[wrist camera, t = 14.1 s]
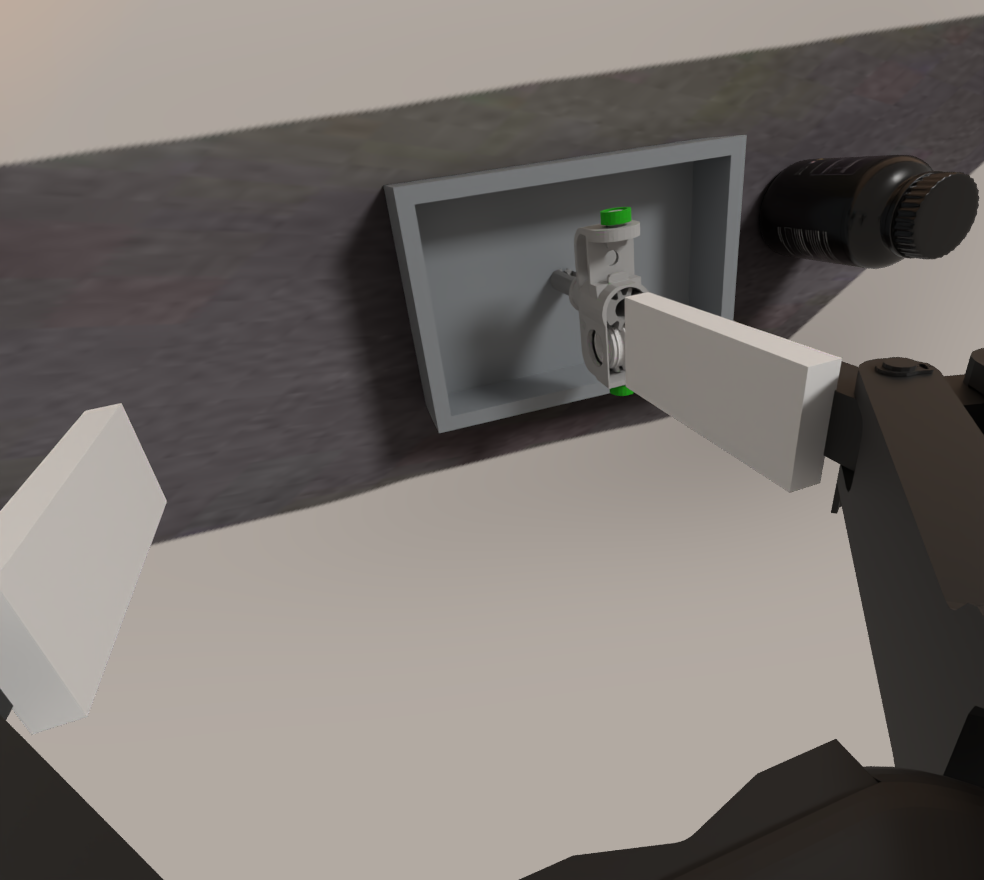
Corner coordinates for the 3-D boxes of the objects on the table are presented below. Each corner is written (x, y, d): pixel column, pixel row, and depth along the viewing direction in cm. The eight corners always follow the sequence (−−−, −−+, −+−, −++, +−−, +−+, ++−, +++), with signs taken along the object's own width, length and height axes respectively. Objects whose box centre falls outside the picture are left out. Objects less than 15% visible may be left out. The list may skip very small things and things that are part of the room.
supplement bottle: (828, 242, 46) (981, 264, 35) (754, 264, 45) (889, 292, 34) (836, 148, 42) (1006, 141, 32) (756, 169, 41) (906, 168, 31)
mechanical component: (575, 196, 37) (651, 205, 29) (585, 344, 42) (653, 390, 34) (532, 204, 37) (597, 216, 28) (548, 353, 42) (607, 402, 33)
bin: (426, 406, 42) (439, 433, 38) (383, 185, 35) (393, 187, 31) (690, 346, 46) (729, 364, 42) (698, 138, 39) (746, 134, 35)
